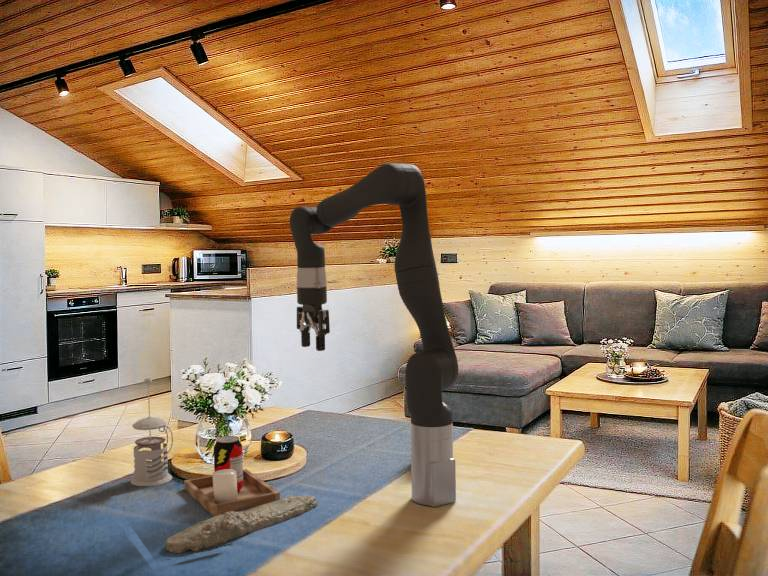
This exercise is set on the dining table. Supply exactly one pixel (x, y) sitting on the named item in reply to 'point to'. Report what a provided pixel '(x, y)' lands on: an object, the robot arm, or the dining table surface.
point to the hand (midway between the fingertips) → (313, 348)
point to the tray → (248, 495)
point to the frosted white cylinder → (225, 486)
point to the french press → (151, 452)
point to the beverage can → (229, 456)
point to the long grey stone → (237, 524)
